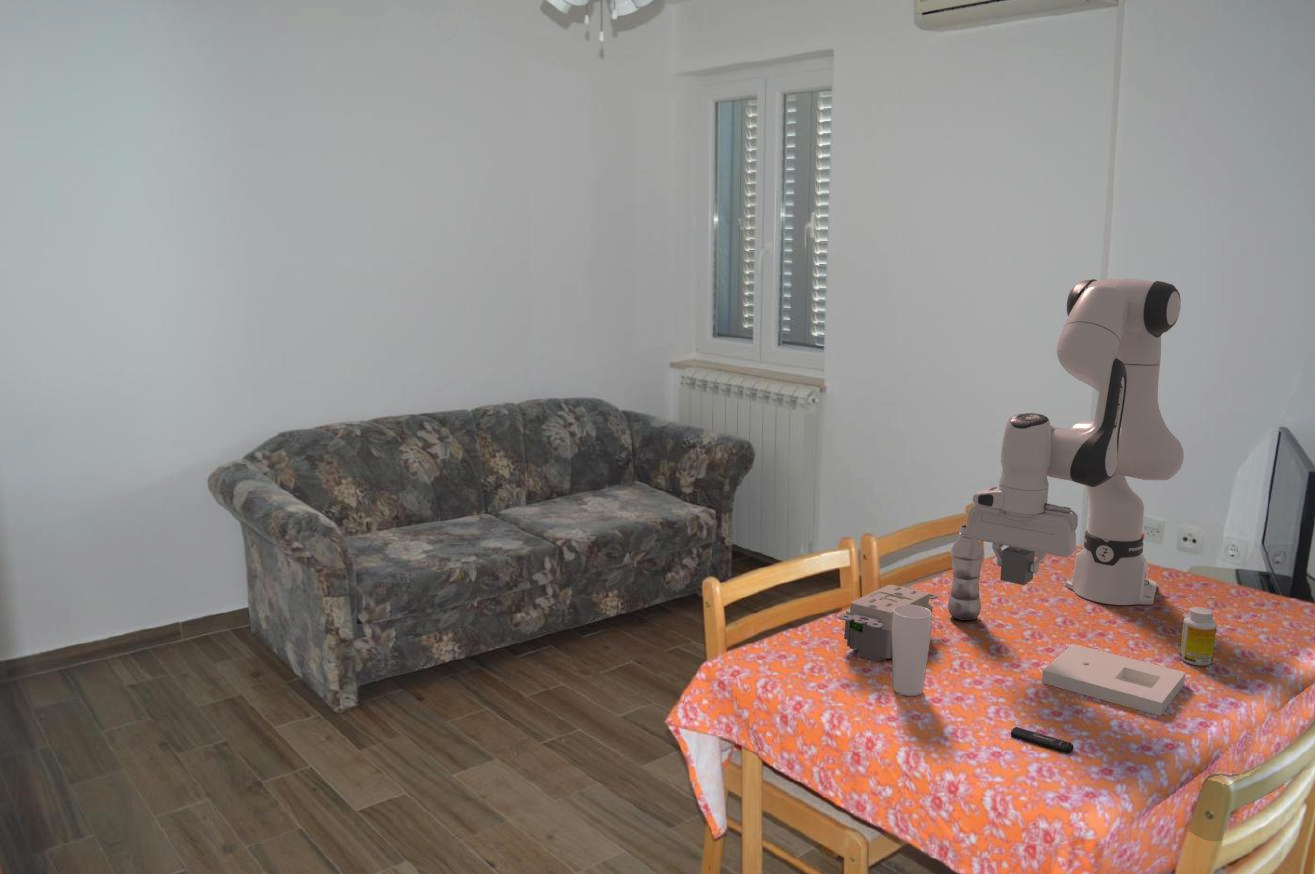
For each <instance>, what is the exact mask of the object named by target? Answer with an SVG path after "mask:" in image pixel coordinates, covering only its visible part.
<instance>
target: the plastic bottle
mask: <svg viewBox="0 0 1315 874" xmlns="http://www.w3.org/2000/svg"><path fill="white" fill-rule="evenodd" d="M966 526H967V524H962V525H960V527H959V532H958V533H959V534H958V535H959V536H960V537H959V538H958V539H957V540H956V541H955V542H954V543H953V545H952V547H951V550H950V555H951V565H952V581H951V583H952V584H951V589H950V595H949V596H948V597H949V598H948V603H947V609H948V610H947V611H948V613H949V615H950V616H951V617H952V618H954V619H957V620H961V621H962V620H963V621H972V620H976V619H977V618H978V617H979V616H980V613H981V609H982V605H981V597H980V577H981V570H982V565H983V561H984V556H985V552H984V547H983V546H982V544H981V543H980V540H976V539H971V538H969V536H968V535H967V533H966Z"/></svg>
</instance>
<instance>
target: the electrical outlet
mask: <svg viewBox="0 0 1315 874" xmlns="http://www.w3.org/2000/svg"><path fill="white" fill-rule="evenodd" d="M938 598H939V595H938V594H936V593H935V594H933V593H929V592H927V591H926V592H925V591H920V590H918V589H917V590H916V589H914V588H913V589H912V588H908V587H904V586H900V585H899V586H898V585H895V584H887V585H885V586H882V587H881V588H878V589H876V590H875V591H872V592H870V593H868V594H865V595H863V596H861V597H859V598H856V599H854V600H853V601H851V602H850V607H849V608H848V609H846V610H845V614H843V613H842V614H840V615H838V617H837V618H838V619H839V620H842V621H845V623H844V635H843V637H844V638H843V639H845V640H846V647H849V649H851V650H856V652H857V653H858V655H859V656H860V657H862V658H865V659H868V660H873V661H876V662H880V661H882V660H886V659H892V615H893V609H894V608H895V607H896V606H899V605H917V606H922V607H925V608H927V609H929V610H930V611H931V613H932V614H933V609H934V607H933V604H932V603H930V601H929V600H936V599H938Z"/></svg>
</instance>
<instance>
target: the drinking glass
mask: <svg viewBox="0 0 1315 874" xmlns="http://www.w3.org/2000/svg"><path fill="white" fill-rule="evenodd" d="M932 614H933V612H932V613H931V611H930V610H929V609H927V608H925V607H922V606H917V605H899V606H896V607H895V608H894V609H893V615H892V657H891V659H892V689H893V690H894V692H896V693H897V694H899V695H902V696H906V697H916V696H920V695H921V694H922V693H923V691H924V686H925V685H924V684H925V676H926V668H927V662H928V656H929V649H930V643H931V635H932V623H933V622H932V621H933V620H932V617H933V615H932Z"/></svg>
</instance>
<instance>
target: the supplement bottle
mask: <svg viewBox="0 0 1315 874" xmlns="http://www.w3.org/2000/svg"><path fill="white" fill-rule="evenodd" d="M1213 619H1214V612H1213V610H1211V609H1209V608H1207V607H1200V606H1193V607H1192V606H1191V607H1190V608H1189V611H1188V616H1186V617H1184V619H1183V624H1182V633H1181V642H1180V648H1179V649H1180V651H1179V658H1180V659H1181V660H1182V662H1185V663H1187V664H1190V665H1193V666H1201V667H1203V666H1209V665H1211V664H1212V663H1213V659H1214V651H1215V643H1216V642H1215V640H1216V633H1217V626H1218V625H1217V623H1216V622H1215V620H1213Z"/></svg>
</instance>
